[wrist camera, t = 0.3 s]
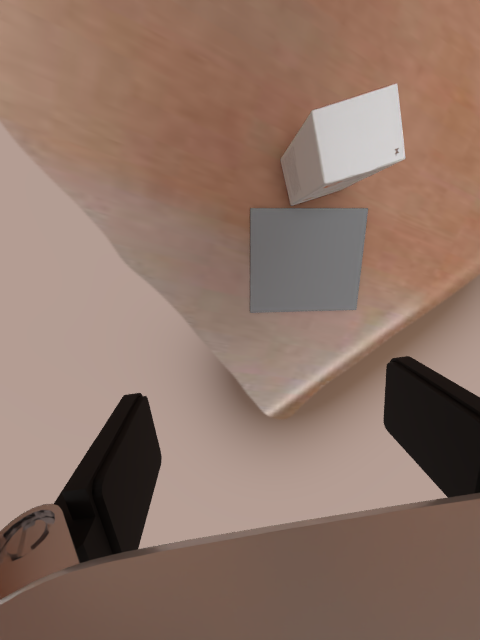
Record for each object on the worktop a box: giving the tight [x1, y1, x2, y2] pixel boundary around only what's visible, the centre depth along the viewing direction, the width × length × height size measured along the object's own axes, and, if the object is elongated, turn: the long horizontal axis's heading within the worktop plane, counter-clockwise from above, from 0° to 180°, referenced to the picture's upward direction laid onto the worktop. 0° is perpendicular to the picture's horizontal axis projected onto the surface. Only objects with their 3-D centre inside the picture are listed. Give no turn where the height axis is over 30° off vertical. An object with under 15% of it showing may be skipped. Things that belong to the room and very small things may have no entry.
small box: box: [280, 83, 405, 206], centre depth 30 cm, size 8×6×13 cm
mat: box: [250, 208, 368, 313], centre depth 39 cm, size 15×17×1 cm
